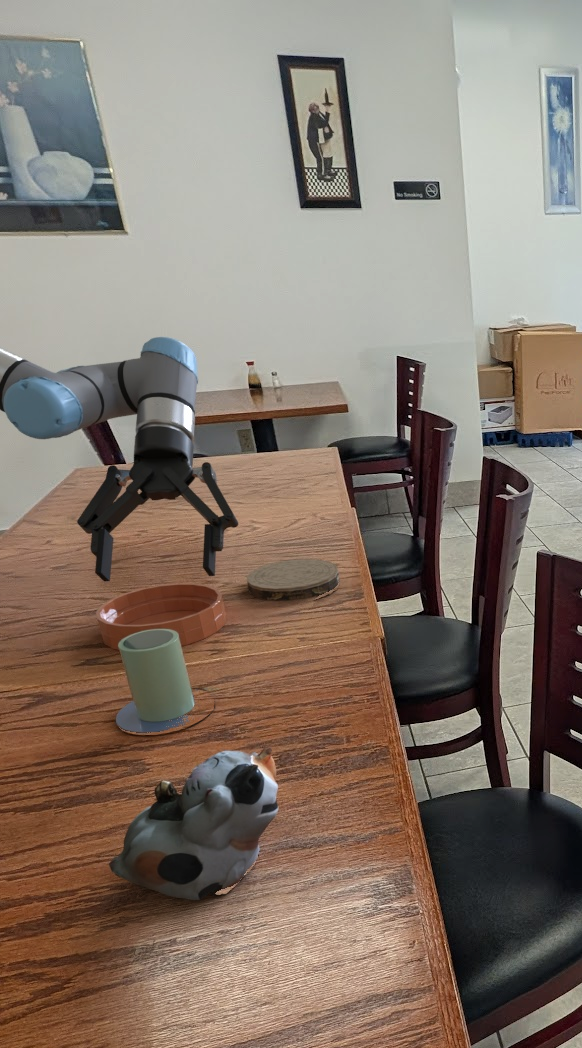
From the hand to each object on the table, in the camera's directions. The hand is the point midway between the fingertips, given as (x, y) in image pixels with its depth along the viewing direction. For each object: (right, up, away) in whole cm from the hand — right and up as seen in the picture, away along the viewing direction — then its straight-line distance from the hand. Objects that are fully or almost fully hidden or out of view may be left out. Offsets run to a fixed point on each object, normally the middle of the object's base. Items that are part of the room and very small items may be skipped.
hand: (156, 574), depth 110 cm
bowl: (-9, -7, +22) cm, 25 cm away
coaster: (+2, -18, -2) cm, 19 cm away
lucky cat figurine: (+20, -32, -29) cm, 47 cm away
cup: (+2, -18, -2) cm, 18 cm away
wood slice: (+6, +2, +40) cm, 40 cm away
